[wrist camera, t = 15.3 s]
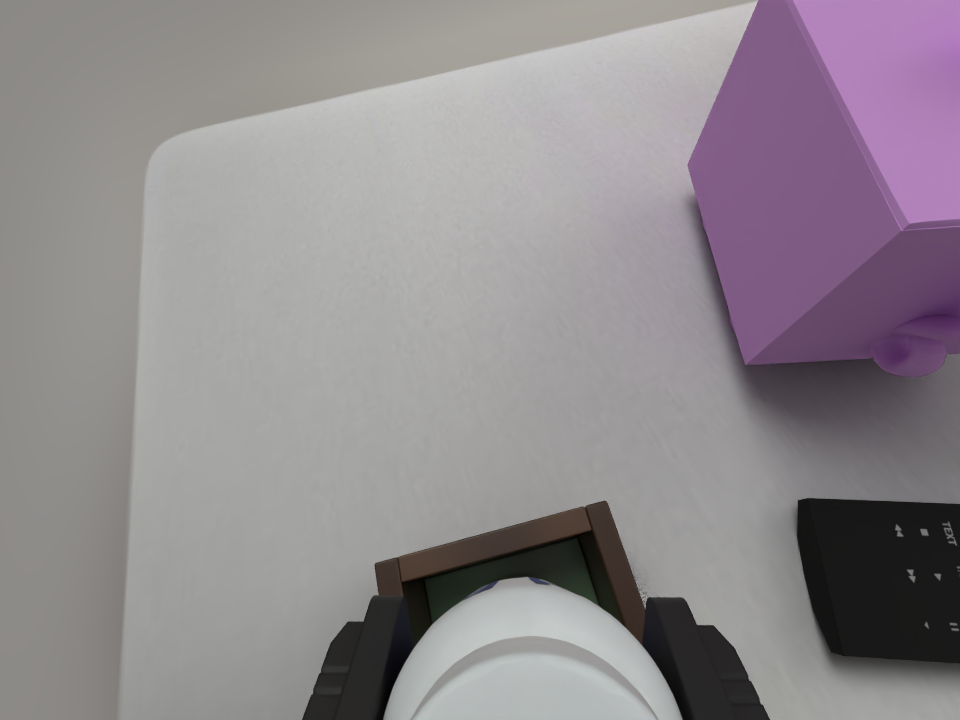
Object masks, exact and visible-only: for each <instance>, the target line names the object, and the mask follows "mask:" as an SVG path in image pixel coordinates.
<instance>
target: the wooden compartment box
mask: <svg viewBox="0 0 960 720" xmlns="http://www.w3.org/2000/svg"><path fill="white" fill-rule="evenodd" d="M375 572H376V579H377V586H378V593H379V595H387V596H406V598H407V603H408V610H409V617H410V624H411V631H412V638H413V649H414V647H415V646H416V645H417V643H418V642H419V641H420V640H421V638H422V637H423V636H424V634H425V633H426V632H427V630H428V629H429V628H430V627H431V625H432V624H433V623H434V622H435V621H437V620H438V619H439V618H440V617H441V616H442V615H443V614H445V613H446V612H447V611H448V610H450V609H451V608H452V607H454V606H455V605H457V604H458V603H460V602H461V601H463V600H464V599H465V598H466V597H467V596H469V595H470V594H472V593H473V592H475V591H476V590H478V589H480V588H482V587H483V586H485V585H488V584H491V583H493V582H496V581H500V580H504V579H512V578H523V577H531V578H537V579H541V580H544V581H547V582H550V583H552V584H555V585H557V586H559V587H561V588H564V589H566V590H568V591H570V592H572V593H575V594H577V595H580V596H582V597H585V598H587V599H588V600H590V601H591V602H593V603H594V604H596V605H598V606H599V607H601V608H602V609H603V610H605V611H606V612H608V613H609V614H611V615H612V616H613V617H614V618H615V619H617V620H618V621H619V622H620V623H621V624H622V625H623V626H624V627H625V628H626V629H627V630H628V631H629V632H630V633H631V634H632V635H633V636H634V637H635V638H636V639H637V640H638V641H639V643H640V644H641V645H642V638H643V629H644V620H645V611H646V610H645V608H644V605H643V602H642V599H641V596H640V593H639V591H638V588H637V585H636V582H635V579H634V576H633V574H632V571H631V568H630V565H629V562H628V559H627V557H626V554H625V551H624V548H623V545H622V542H621V540H620V537H619V534H618V531H617V528H616V525H615V523H614V520H613V517H612V514H611V511H610V508H609V506H608V503H607V502H606V501H601V502H598V503H594V504H590V505H587V506H585V507H579V508H575V509H572V510H568V511H564V512H561V513H557V514H553V515H550V516H546V517H542V518H539V519H535V520H531V521H528V522H524V523H520V524H517V525H513V526H510V527H506V528H502V529H499V530H495V531H491V532H488V533H484V534H480V535H477V536H473V537H469V538H466V539H462V540H458V541H455V542H451V543H447V544H444V545H440V546H436V547H433V548H429V549H425V550H422V551H418V552H414V553H411V554H407V555H403V556H400V557H398V558H392V559H389V560H385V561H381V562H378V563H375Z"/></svg>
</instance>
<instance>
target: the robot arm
mask: <svg viewBox="0 0 960 720" xmlns="http://www.w3.org/2000/svg"><path fill="white" fill-rule="evenodd" d="M642 646H643V647H644V649H645V650H646V651H647V652H648V654H649V655H650V656H651V658H652V659H653V661H654V662H655V663H656V665H657V667H658V668H659V670H660V672H661V673H662V675H663V677H664V678H665V680H666V682H667V684H668V686H669V688H670V690H671V692H672V693H673V696H674V698H675V700H676V703H677V705H678V708H679V710H680V713H681V716H682V718H683V720H770V719H769V717H768V715H767V713H766V711H765V709H764V707H763V705H761V703H760V700H759V697H758V695H757V693H756V691H755V688H754V686H753V684H752V682H751V681H749V679H748V674H747V672H746V670H745V668H744V666H743V664H742V662H741V660H740V658H739V656H738V654H737V652H736V650H735V648H734V647H733V646H732V645H731V644H730V643H729V642H728V641H727V640H726V639H725V637H724V636H723V635H722V634H721V633H720V632H719V631H718V630H717V629H716V628H715V627H714V626H713V625H697V624H696V622H695V620H694V617H693V615H692V613H691V610H690V608H689V606H688V604H687V602H686V601H685V599H684V598H663V597H649V598H648V599H647V602H646V611H645V620H644V629H643V638H642ZM412 650H413V638H412V631H411V624H410V617H409V610H408V603H407V598H406V596H387V595H375V596H373V597H372V599H371V601H370V603H369V606H368V610H367V613H366V616H365V619H364V622H347V623H346V625H345V626H344V627H343V628H342V630H341V631H340V632H339V633H338V635H337V636H336V637H335V638H334V640H333V641H332V642H331V644H330V647H329V649H328V652H327V655H326V657H325V660H324V663H323V665H322V668H321V673H319V676H318V679H317V681H316V684H315V687H314V689H313V695H311V697H310V700H309V703H308V705H307V708H306V711H305V713H304V716H303V719H302V720H383V718H384V713H385V710H386V707H387V704H388V701H389V698H390V695H391V692H392V689H393V686H394V684H395V682H396V680H397V678H398V676H399V674H400V671H401V669H402V668H403V666H404V664H405V662H406V660H407V659H408V657H409V655H410V654H411V652H412Z"/></svg>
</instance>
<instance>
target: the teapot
mask: <svg viewBox="0 0 960 720" xmlns="http://www.w3.org/2000/svg"><path fill="white" fill-rule="evenodd" d="M688 169H689V172H690V176H691V179H692V183H693V186H694V190H695V194H696V197H697V201H698V204H699V208H700V211H701V215H702V226H703V228H704V230H705V231H706V233H707V236H708V239H709V243H710V246H711V250H712V253H713V257H714V260H715V264H716V267H717V271H718V274H719V277H720V281H721V284H722V288H723V291H724V295H725V298H726V302H727V305H728V309H729V312H730V324H731V326H732V329H733V330H734V332H735V333H736V336H737V340H738V343H739V347H740V350H741V353H742V357H743V360H744V363H745V365H758V364H777V363H794V362H812V361H829V360H849V359H868V358H873V359H874V360H875V362H876V363H877V365H878V366H879V367H880V368H881V369H883V370H884V371H886V372H888V373H890V374H894V375H898V376H902V377H920V376H924V375H927V374H930V373H932V372H935V371H936V370H938V369H939V368H940V367H941V366H942V365H943V363H944V361H945V358H946V354H959V353H960V0H759V1H758V3H757V5H756V7H755V10H754V12H753V14H752V17H751V19H750V21H749V24H748V26H747V28H746V31H745V33H744V35H743V38H742V40H741V42H740V45H739V47H738V49H737V51H736V54H735V56H734V58H733V61H732V63H731V65H730V68H729V70H728V72H727V75H726V77H725V79H724V82H723V84H722V86H721V89H720V91H719V93H718V95H717V98H716V100H715V102H714V105H713V107H712V109H711V112H710V114H709V116H708V119H707V121H706V123H705V126H704V128H703V130H702V133H701V135H700V137H699V139H698V142H697V144H696V146H695V149H694V151H693V153H692V156H691V158H690V160H689V163H688Z"/></svg>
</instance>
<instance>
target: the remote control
mask: <svg viewBox="0 0 960 720" xmlns="http://www.w3.org/2000/svg"><path fill="white" fill-rule="evenodd" d="M797 536H798V541H799V547H800V553H801V558H802V564H803V569H804V574H805V578H806V582H807V586H808V590H809V595H810V599H811V603H812V607H813V610H814V613H815V615H816V617H817V620H818V622H819V624H820V627H821V629H822V632H823V634H824V636H825V639H826V641H827V643H828V646H829V648H830V651H831V652H832V653H836V654H839V655H843V656H854V657H869V658H884V659H900V660H915V661H930V662H946V663H960V504H945V503H919V502H893V501H867V500H841V499H815V498H807V499H802V500H798V534H797Z"/></svg>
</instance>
